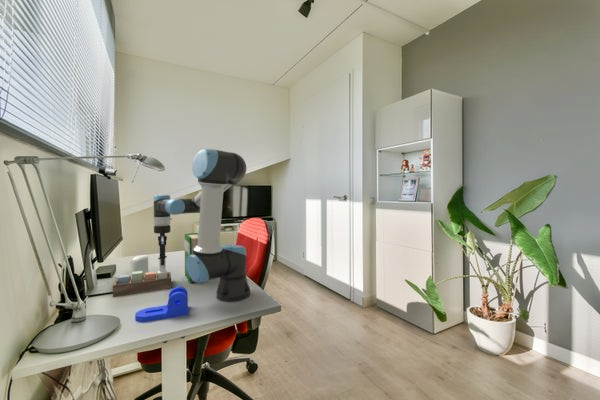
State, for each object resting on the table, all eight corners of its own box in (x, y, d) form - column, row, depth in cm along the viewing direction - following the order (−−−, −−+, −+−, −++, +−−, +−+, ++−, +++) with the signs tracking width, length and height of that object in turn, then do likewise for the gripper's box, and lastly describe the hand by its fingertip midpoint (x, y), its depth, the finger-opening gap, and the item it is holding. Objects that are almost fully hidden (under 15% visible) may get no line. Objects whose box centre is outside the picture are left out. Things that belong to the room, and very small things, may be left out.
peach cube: (155, 281, 132) (155, 273, 132) (145, 282, 130) (145, 274, 130) (155, 279, 136) (155, 271, 136) (145, 280, 134) (145, 272, 134)
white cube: (167, 279, 135) (167, 272, 135) (158, 281, 133) (157, 273, 133) (167, 277, 139) (167, 270, 139) (158, 278, 137) (158, 271, 137)
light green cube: (142, 281, 130) (142, 272, 130) (132, 282, 128) (132, 274, 128) (142, 278, 134) (142, 270, 134) (132, 279, 132) (132, 271, 132)
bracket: (187, 307, 110) (187, 285, 110) (187, 315, 103) (187, 292, 103) (137, 314, 103) (137, 291, 103) (133, 324, 95) (133, 299, 95)
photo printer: (136, 280, 144) (136, 258, 144) (129, 280, 144) (129, 257, 144) (149, 275, 154) (149, 253, 154) (143, 274, 155) (142, 253, 154)
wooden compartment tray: (171, 288, 132) (171, 278, 132) (112, 296, 121) (112, 285, 121) (170, 281, 143) (170, 271, 143) (116, 288, 132) (116, 278, 132)
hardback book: (204, 281, 143) (204, 236, 143) (189, 283, 139) (189, 237, 139) (198, 273, 158) (198, 232, 158) (184, 275, 154) (184, 233, 154)
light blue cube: (128, 285, 127) (128, 276, 127) (118, 286, 125) (118, 277, 125) (129, 282, 131) (129, 274, 131) (119, 283, 129) (119, 275, 129)
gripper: (170, 225, 131) (171, 273, 132) (170, 223, 143) (170, 267, 143) (153, 226, 128) (153, 275, 128) (154, 224, 139) (154, 268, 140)
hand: (162, 271), depth 136 cm, fingers closed
